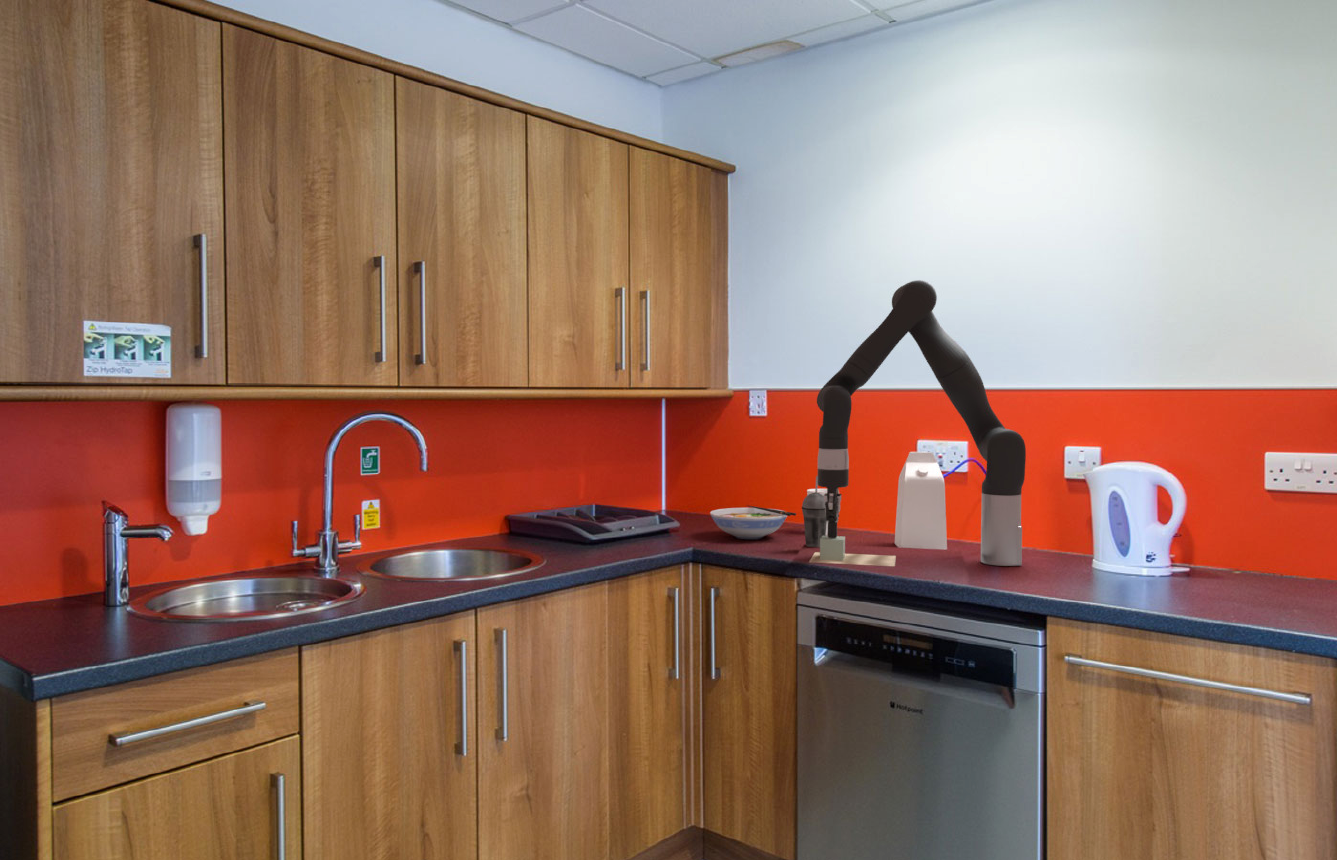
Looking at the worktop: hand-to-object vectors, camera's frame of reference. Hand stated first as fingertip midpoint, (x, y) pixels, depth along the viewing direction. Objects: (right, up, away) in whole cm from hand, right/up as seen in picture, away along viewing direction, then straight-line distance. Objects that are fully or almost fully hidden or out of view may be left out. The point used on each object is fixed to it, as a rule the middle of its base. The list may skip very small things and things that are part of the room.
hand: (832, 537), depth 223 cm
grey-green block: (0, -5, 0) cm, 5 cm away
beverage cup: (-1, -6, +18) cm, 19 cm away
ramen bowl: (-17, -5, +41) cm, 45 cm away
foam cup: (+6, -5, +48) cm, 49 cm away
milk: (+28, -6, +25) cm, 38 cm away
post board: (+5, -7, -1) cm, 8 cm away
